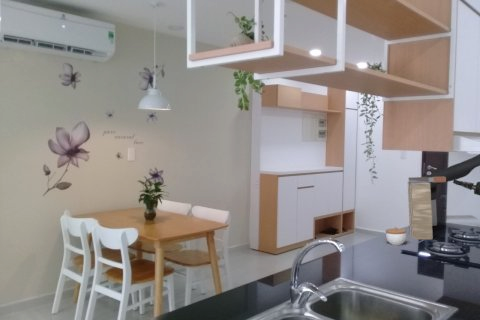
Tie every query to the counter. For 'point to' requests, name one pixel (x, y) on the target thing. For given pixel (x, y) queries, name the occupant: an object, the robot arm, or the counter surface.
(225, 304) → the counter surface
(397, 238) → the lidded jar
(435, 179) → the breaker handle
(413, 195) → the birch stand
